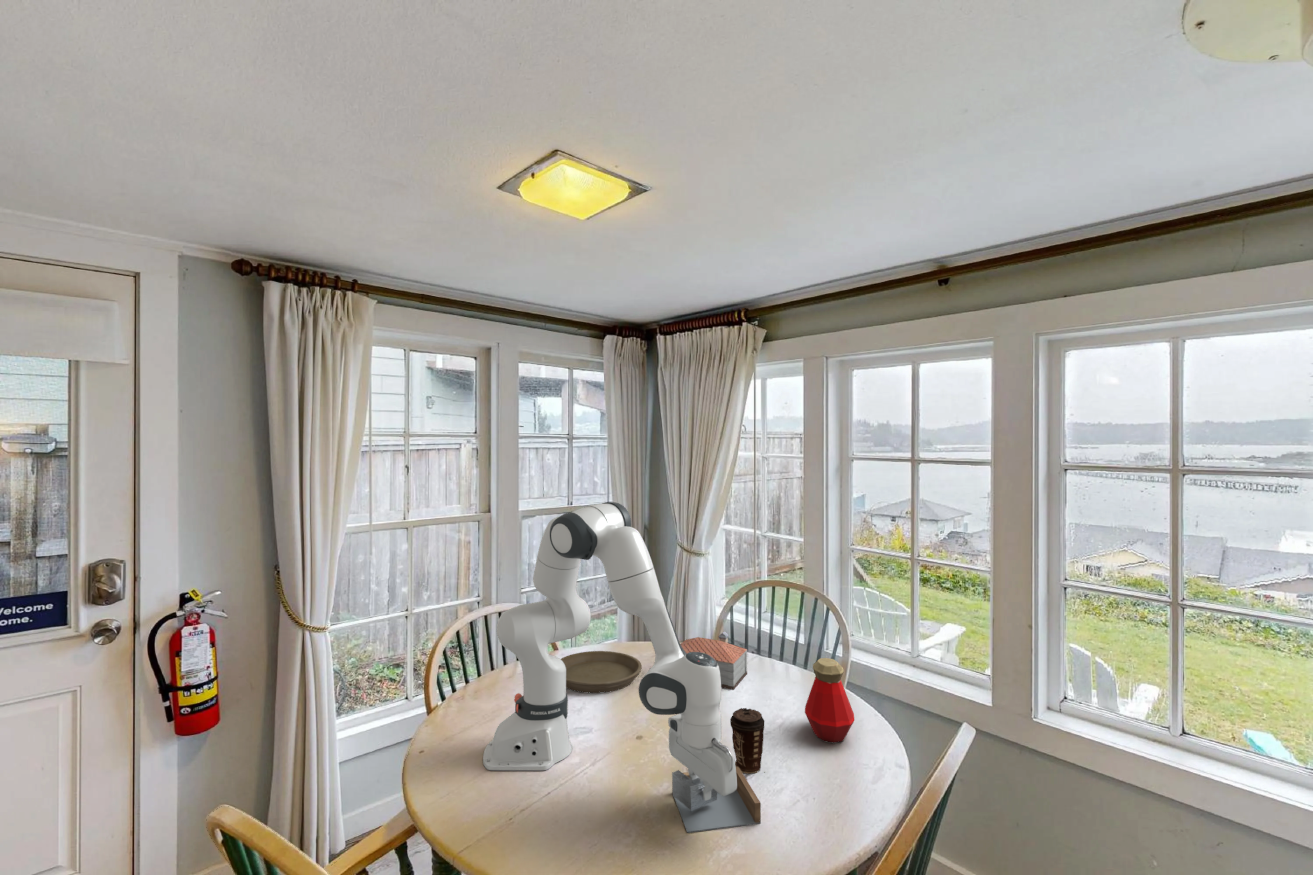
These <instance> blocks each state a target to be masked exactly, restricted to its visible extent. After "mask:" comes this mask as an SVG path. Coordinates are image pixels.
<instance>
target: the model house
mask: <svg viewBox="0 0 1313 875" xmlns="http://www.w3.org/2000/svg"><path fill="white" fill-rule="evenodd" d="M729 636H730V635H729V634H728V633H727V632H726V631H723V632H722V633H720V634H719V636H718V638H719V640H718V639H712V638H705V637H699V636H697V637H693V638H687V639H686V640H684V641H683V642H680V644H681V646H682V648H683V649H684V651H685V652H686V653H689V652H702V653H705V654H708V655H710V656H711V657H712V658H714V659H715V660H716V662H717V663H718V666H719V670H720V677H721V689H722V688H723V689H725V690H726V689H727V690H730V691H731V690H732V691H734V690H735V689H736V688H737V686H739V684H740V683H741V682H742V680H744V678H745V677H746V676H747V675H748V649H747V648H744V647H741V646H738V645H736V644H731V643H730V642H729Z"/></svg>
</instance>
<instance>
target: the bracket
mask: <svg viewBox="0 0 1313 875" xmlns="http://www.w3.org/2000/svg"><path fill="white" fill-rule="evenodd" d="M683 773H684V772H681V770H679V769H678V770H675V771H673V772H672V771H671V775H672V776H671V780H672V781H671V782H672V784H671V786H673V793H672V796H673V798H674V797H675V798H676V799H677V800H679V801H680V802H681V803H682V804H684V805H685V806H686V807H687V808H688V809H690V810H691V811H692V810H694V809H697V808H699V807H701V806H704V805H706V804H708V803H710V802H713V801H715V800H717V791H716V790H714V789H712V790H711V798H710V799H709V800H704V799H703V798H702V797H701V789H704V787H705V785H704V784H703V780H702V779H701V778H696V779H694V780H691V779H690V778H689V777H687V776H686V775H685V774H683Z"/></svg>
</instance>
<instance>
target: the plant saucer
mask: <svg viewBox="0 0 1313 875" xmlns="http://www.w3.org/2000/svg"><path fill="white" fill-rule="evenodd" d="M560 659H561V660H562V661H563V663H564V664H565V667H566V689H567V690H570V689H571V690H572V691H574V690H575V691H574V692H578V691H579V693H584V692H588V693H587V694H601V693H600V692H604V693H610V691H611V692H615V691H618V689H619V690H622V689H624V688H626V687H629V685H631V684H632V683H633V682H634V681H635V679H636V678H638V676H639V674H640V673H641V671H642V662H640V660H639V659H638V658H636V657H634V656H632V655H630V654H627V653H622V652H619V651H608V650H591V651H581V652H576V653H573V654H568V655H566V656H564V657H562V658H560ZM589 692H590V693H589Z"/></svg>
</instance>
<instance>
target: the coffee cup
mask: <svg viewBox="0 0 1313 875" xmlns="http://www.w3.org/2000/svg"><path fill="white" fill-rule="evenodd" d="M762 715H763V714H762V713H761V712H760V711H759V710H756V709H752V708H747V707H744V708H742V707H741V708H739V709H737V710H735V711H733V712H732V716H731V717H730V727H731V730H732V734H731V735H732V737H731V738H732V744H733V746H732V748H733V750H734V755H735V767H739V768H740V770H741V772H742V773H743V774H745V775H746V774H747V775H748V774H749V775H751V774H755V773H758V772H760V771H761V768H762V767H761V766H762V755H763V752H764V748H763V747H764V730H765V720H764V718H763V716H762Z"/></svg>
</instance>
